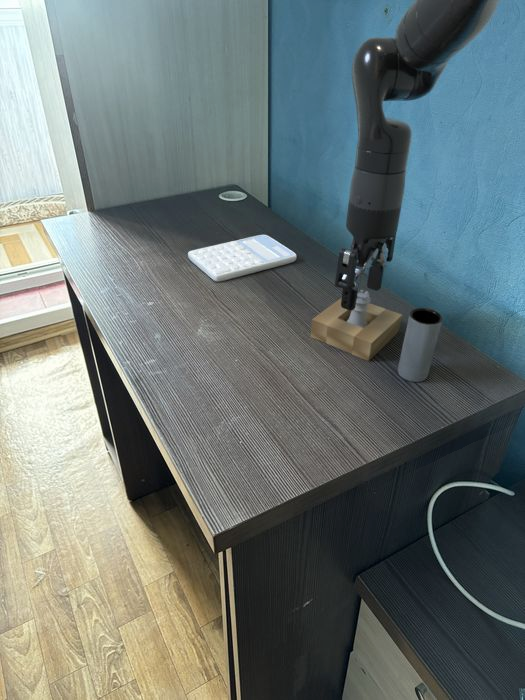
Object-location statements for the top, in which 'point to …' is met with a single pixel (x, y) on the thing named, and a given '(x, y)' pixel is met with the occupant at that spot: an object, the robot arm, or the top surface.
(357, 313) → the rook chess piece
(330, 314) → the holder
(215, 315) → the top surface
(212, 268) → the calculator
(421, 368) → the planter
